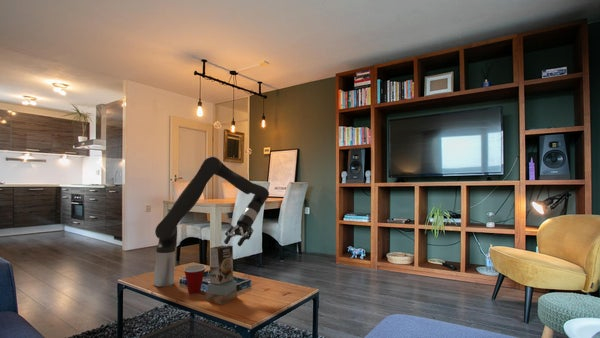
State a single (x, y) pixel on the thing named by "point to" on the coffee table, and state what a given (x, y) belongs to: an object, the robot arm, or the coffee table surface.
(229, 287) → the tower top
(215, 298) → the tower base
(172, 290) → the coffee table surface
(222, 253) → the coffee box
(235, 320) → the coffee table surface
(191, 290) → the plastic cup
